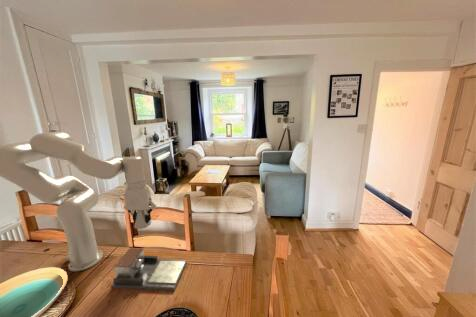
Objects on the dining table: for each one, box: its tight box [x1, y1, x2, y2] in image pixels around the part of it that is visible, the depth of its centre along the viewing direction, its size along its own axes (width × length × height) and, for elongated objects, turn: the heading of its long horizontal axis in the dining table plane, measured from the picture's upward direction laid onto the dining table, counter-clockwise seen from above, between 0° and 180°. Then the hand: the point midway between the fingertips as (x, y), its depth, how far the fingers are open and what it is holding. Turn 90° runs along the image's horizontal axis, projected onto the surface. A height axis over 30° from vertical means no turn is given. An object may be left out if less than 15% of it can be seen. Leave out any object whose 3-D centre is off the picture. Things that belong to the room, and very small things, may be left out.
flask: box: [133, 210, 152, 230], centre depth 88 cm, size 7×7×10 cm
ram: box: [113, 247, 145, 278], centre depth 79 cm, size 8×10×7 cm
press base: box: [110, 255, 188, 292], centre depth 80 cm, size 25×14×4 cm, turn 86°
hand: (142, 221), depth 88 cm, fingers closed on flask, 4 cm apart
